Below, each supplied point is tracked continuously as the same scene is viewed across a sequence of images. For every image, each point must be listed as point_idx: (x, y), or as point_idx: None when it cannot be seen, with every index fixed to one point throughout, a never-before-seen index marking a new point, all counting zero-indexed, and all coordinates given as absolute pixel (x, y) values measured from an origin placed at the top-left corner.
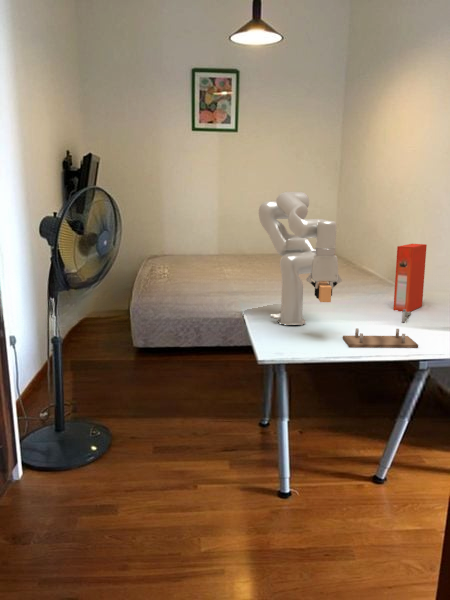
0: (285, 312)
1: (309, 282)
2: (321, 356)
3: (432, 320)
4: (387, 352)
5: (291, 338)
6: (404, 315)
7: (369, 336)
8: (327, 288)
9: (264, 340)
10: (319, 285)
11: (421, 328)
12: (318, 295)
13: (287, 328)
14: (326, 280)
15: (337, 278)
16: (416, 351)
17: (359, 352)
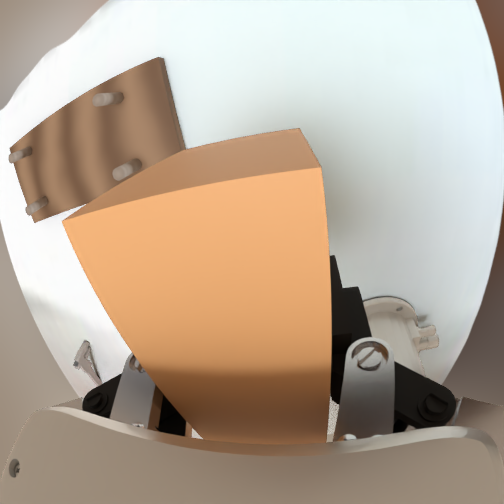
0: (410, 341)
1: (473, 403)
2: None
3: (58, 349)
4: (62, 65)
5: (404, 140)
6: (77, 352)
7: (101, 188)
8: (146, 187)
9: (484, 116)
10: (330, 375)
11: (48, 304)
12: None
13: (400, 273)
14: (167, 454)
15: (24, 428)
16: (16, 114)
17: (132, 21)
